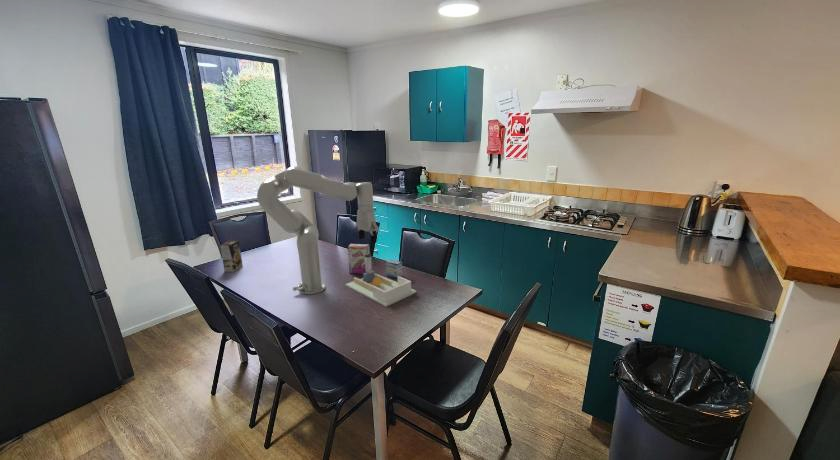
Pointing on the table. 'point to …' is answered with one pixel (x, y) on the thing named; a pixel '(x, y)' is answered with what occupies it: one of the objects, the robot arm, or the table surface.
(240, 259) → the coffee box
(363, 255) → the candy bar box
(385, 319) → the table surface
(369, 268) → the kicker
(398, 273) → the medicine box
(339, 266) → the table surface
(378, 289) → the white tray
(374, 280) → the ball
